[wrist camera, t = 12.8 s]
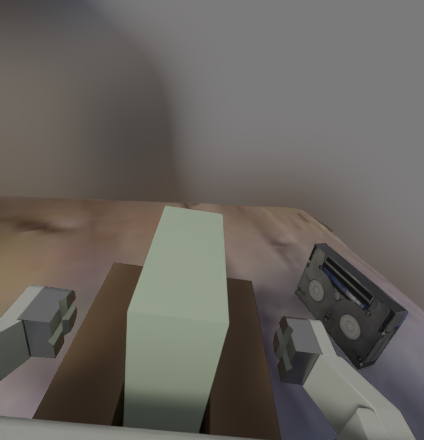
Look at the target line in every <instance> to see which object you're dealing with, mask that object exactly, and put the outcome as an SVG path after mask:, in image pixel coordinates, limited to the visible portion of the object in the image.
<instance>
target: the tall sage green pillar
mask: <svg viewBox="0 0 424 440" xmlns="http://www.w3.org/2000/svg"><path fill="white" fill-rule="evenodd" d="M228 326H229V313H228V297H227V281H226V265H225V250H224V234H223V218H222V214H217V213H210V212H204V211H197V210H191V209H184V208H178V207H171V206H165V209H164V211H163V214H162V217H161V220H160V222H159V225H158V228H157V231H156V233H155V236H154V239H153V242H152V244H151V247H150V250H149V253H148V255H147V258H146V261H145V264H144V266H143V269H142V272H141V275H140V277H139V280H138V283H137V286H136V288H135V291H134V294H133V297H132V299H131V302H130V305H129V308H128V310H127V335H126V365H125V395H124V425H123V427H129V428H140V429H152V430H163V431H175V432H186V433H197V434H198V433H199V429H200V426H201V422H202V419H203V415H204V412H205V408H206V404H207V401H208V397H209V394H210V390H211V387H212V383H213V380H214V376H215V372H216V369H217V365H218V362H219V358H220V355H221V351H222V347H223V344H224V340H225V337H226V333H227V330H228Z"/></svg>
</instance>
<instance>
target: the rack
mask: <svg viewBox="0 0 424 440" xmlns="http://www.w3.org/2000/svg"><path fill="white" fill-rule="evenodd" d="M142 269H143V266H136V265H129V264H122V263H114V264H113V266H112V268H111V270H110V271H109V273H108V275H107V277H106V279H105V281H104V283H103V285H102V287H101V289H100V291H99V292H98V294H97V296H96V298H95V300H94V302H93V304H92V306H91V308H90V310H89V311H88V313H87V315H86V317H85V319H84V321H83V323H82V325H81V327H80V329H79V331H78V332H77V334H76V336H75V338H74V340H73V342H72V344H71V346H70V348H69V350H68V352H67V353H66V355H65V357H64V359H63V361H62V363H61V365H60V367H59V369H58V371H57V372H56V374H55V376H54V378H53V380H52V382H51V384H50V386H49V388H48V390H47V392H46V393H45V395H44V397H43V399H42V401H41V403H40V405H39V407H38V409H37V411H36V413H35V414H34V416H33V418H32V419H39V420H50V421H61V422H73V423H84V424H95V425H106V426H118V427H123V425H124V395H125V365H126V335H127V310H128V308H129V305H130V302H131V299H132V297H133V294H134V291H135V288H136V286H137V283H138V280H139V277H140V275H141V272H142ZM226 281H227V297H228V313H229V326H228V330H227V333H226V337H225V340H224V344H223V347H222V351H221V355H220V358H219V362H218V365H217V369H216V372H215V376H214V380H213V383H212V387H211V390H210V394H209V397H208V401H207V404H206V408H205V412H204V415H203V419H202V422H201V426H200V429H199V433H198V434H208V435H219V436H231V437H242V438H253V439H264V440H281V436H280V431H279V425H278V420H277V414H276V409H275V404H274V398H273V393H272V388H271V382H270V377H269V371H268V366H267V361H266V355H265V350H264V345H263V339H262V334H261V328H260V323H259V318H258V312H257V307H256V302H255V296H254V291H253V285H252V281H247V280H240V279H232V278H226Z"/></svg>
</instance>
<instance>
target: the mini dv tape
mask: <svg viewBox="0 0 424 440" xmlns="http://www.w3.org/2000/svg"><path fill="white" fill-rule="evenodd" d="M295 294H296V295H297V296H298V297H299V299H300V300H301V301H302V302H303V303H304V305H305V306H306V307H307V308H308V309H309V311H310V312H311V313H312V314H313V315H314V317H315V318H316V319H317V320H320V321H321V322H322V323H323V326H324V328H325V330H326V331H327V332H328V334H329V335H330V336H331V337H332V338H333V340H334V341H335V342H336V343H337V345H338V346H339V347H340V348H341V349H342V351H343V352H344V353H345V354H346V355H347V357H348V358H349V359H350V360H351V361H352V363H353V364H354V365H355V366H356V368H357V369H361V368H364V367H368V366H371V365H373V364H374V363H375V362H376V360H377V359H378V357H379V356H380V354H381V353H382V351H383V350H384V349H385V347H386V346H387V344H388V343H389V341H390V340H391V338H392V337H393V336H394V334H395V333H396V331H397V330H398V328H399V327H400V325H401V324H402V323H403V321H404V320H405V318H406V316H407V313H408V311H407V310H406V309H404V308H403V307H402V306H401V305H399V304H398V303H397V302H396V301H395V300H393V299H392V298H391V297H390V296H389V295H387V294H386V293H385V292H384V291H383V290H381V289H380V288H379V287H378V286H376V285H375V284H374V283H373V282H372V281H370V280H369V279H368V278H367V277H366V276H364V275H363V274H362V273H361V272H360V271H358V270H357V269H356V268H355V267H353V266H352V265H351V264H350V263H349V262H347V261H346V260H345V259H344V258H343V257H341V256H340V255H339V254H338V253H337V252H335V251H334V250H333V249H332V248H330V247H329V246H328V245H327V244H326V243H320V244H315V245H314V248H313V250H312V253H311V255H310V258H309V260H308V263H307V265H306V267H305V270H304V272H303V275H302V277H301V280H300V282H299V285H298V287H297V290H296V292H295Z"/></svg>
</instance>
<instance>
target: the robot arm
mask: <svg viewBox="0 0 424 440" xmlns="http://www.w3.org/2000/svg"><path fill="white" fill-rule="evenodd" d="M75 298H76V296H75V291H73V290H68V289H61V288H54V287H48V286H39V285H31V286H29V287H28V288H27V289H26V290H25V291H24V292H23V293H22V294H21V296H20V297H19V298H18V299H17V300H16V301H15V302H14V304H13V305H12V306H11V307H10V308H9V309H8V310H7V312H6V313H5V314H4V315H3V316H2V317H1V318H0V381H1V380H2V379H3V378H4V377H6V376H7V375H8V374H10V373H11V372H12V371H14V370H15V369H16V368H18V367H19V366H20V365H21V364H23V363H24V362H25V361H27V360H28V359H29V358H30V357H43V358H56V356H57V354H58V353H59V351H60V349H61V347H62V345H63V344H64V335H66V334H67V333H69V332H70V331H71V329H72V327H73V325H74V322H75V319H76V314H77V307H76V306H75V304H74V303H73V302H74V300H75ZM280 327H281V328H279V329H278V330H276V333H275V336H274V352H275V355H276V357H277V358H278V359H279V360H280V361H279V364H278V370H279V374H280V378H281V382H282V383H290V384H297V385H303V387H304V389H305V390H306V391H307V393H308V394H309V396H310V397H311V398H312V400H313V401H314V402H315V404H316V405H317V406H318V408H319V409H320V411H321V412H322V413H323V415H324V416H325V417H326V419H327V420H328V421H329V423H330V424H331V425H332V427H333V428H334V430H335V431H336V432H337V434H338V436H337V438H336V439H335V440H416V439H415V437H414V436H413V434H412V432H411V430H410V428H409V427H408V425H407V423H406V421H405V419H404V418H403V416H402V414H401V412H400V411H399V410H398V409H397V408H396V407H395V406H394V405H393V404H392V403H391V402H389V401H388V400H387V399H386V398H385V397H384V396H383V395H382V394H381V393H380V392H379V391H377V390H376V389H375V388H374V387H373V386H372V385H371V384H370V383H369V382H368V381H367V380H366V379H364V378H363V377H362V376H361V375H360V374H359V373H358V372H357V371H356V370H355V369H354V368H352V367H351V366H350V365H349V364H348V363H347V362H346V361H345V360H344V359H343V358H342V357H338V356H337V355H336V352H335V350H334V348H333V346H332V343H331V341H330V339H329V337H328V335H327V332H326V330H325V328H324V326H323V323H322V322H321V321H320V320H312V319H303V318H294V317H286V316H283V317H282V318H281V320H280ZM0 440H264V439H253V438H242V437H231V436H219V435H208V434H197V433H186V432H175V431H163V430H152V429H140V428H129V427H118V426H106V425H95V424H84V423H73V422H61V421H50V420H39V419H28V418H17V417H5V416H0Z"/></svg>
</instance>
